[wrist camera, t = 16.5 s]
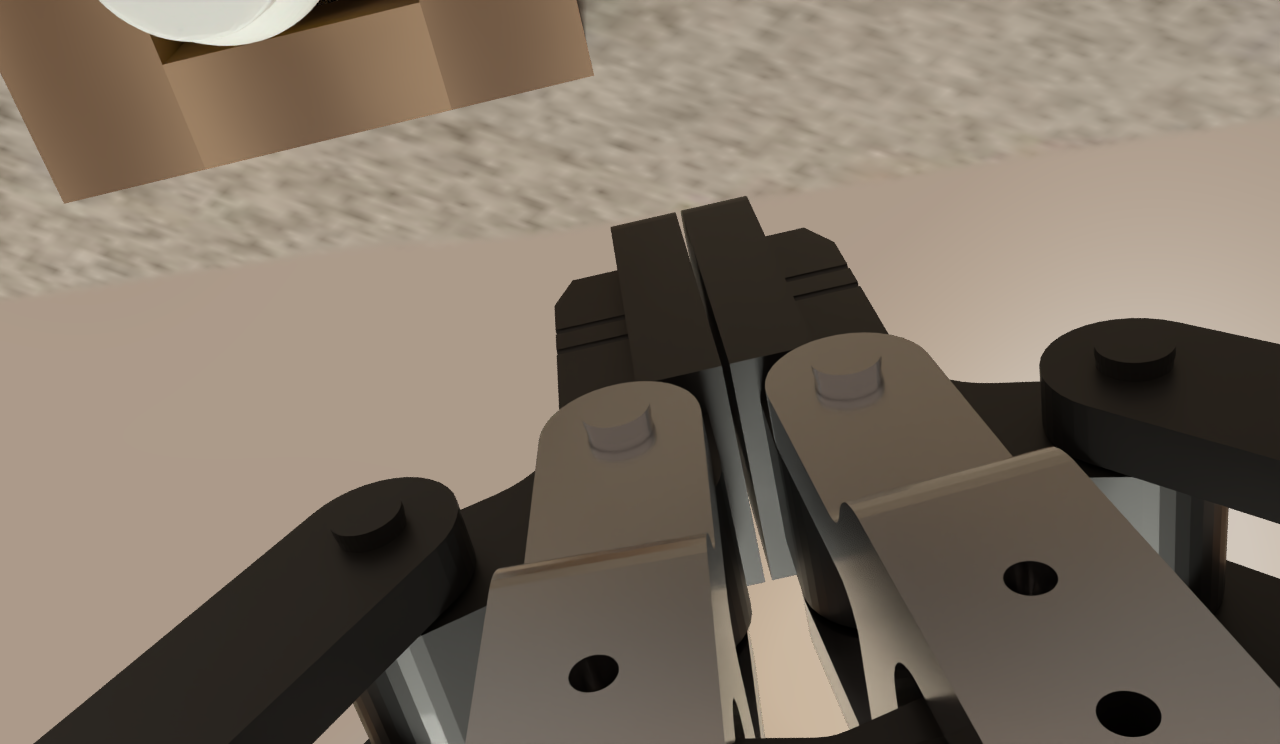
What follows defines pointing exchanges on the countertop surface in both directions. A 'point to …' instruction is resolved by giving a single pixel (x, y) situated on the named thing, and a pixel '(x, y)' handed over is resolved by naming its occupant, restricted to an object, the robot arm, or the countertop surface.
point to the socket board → (263, 80)
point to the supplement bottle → (211, 18)
